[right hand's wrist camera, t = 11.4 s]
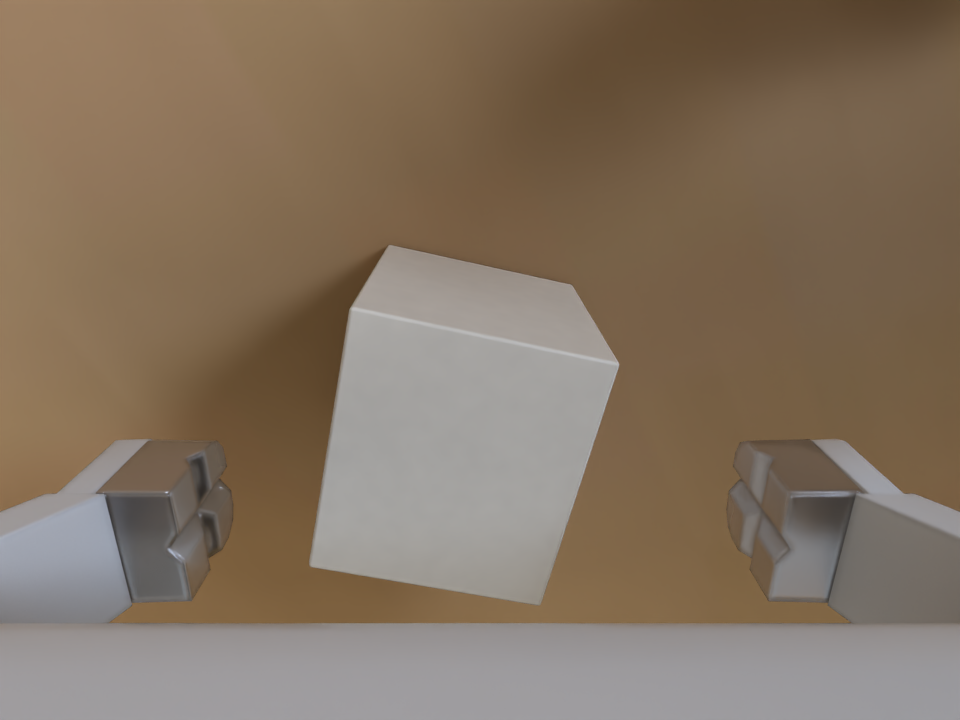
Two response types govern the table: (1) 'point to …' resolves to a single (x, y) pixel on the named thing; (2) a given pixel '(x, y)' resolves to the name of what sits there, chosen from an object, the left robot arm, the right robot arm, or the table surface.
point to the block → (459, 427)
